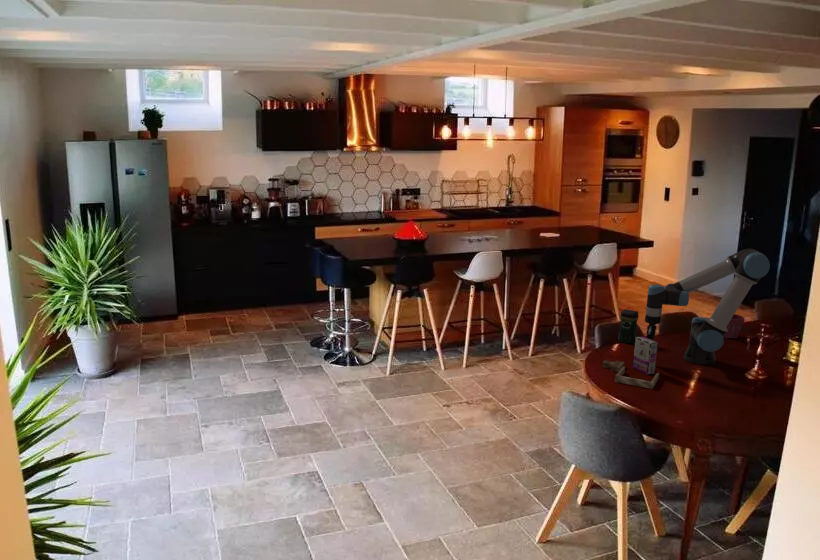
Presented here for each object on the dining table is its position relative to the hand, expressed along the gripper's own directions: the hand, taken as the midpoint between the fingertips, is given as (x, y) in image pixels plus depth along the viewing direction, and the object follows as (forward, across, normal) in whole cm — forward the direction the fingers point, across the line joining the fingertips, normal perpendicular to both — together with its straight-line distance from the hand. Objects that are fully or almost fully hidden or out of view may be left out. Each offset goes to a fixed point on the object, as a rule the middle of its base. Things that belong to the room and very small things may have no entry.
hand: (648, 359), depth 354 cm
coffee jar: (+3, -33, -18) cm, 38 cm away
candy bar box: (+3, +12, 0) cm, 12 cm away
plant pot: (+2, -76, +31) cm, 82 cm away
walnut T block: (+3, +16, -14) cm, 21 cm away
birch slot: (+3, +27, 0) cm, 27 cm away
